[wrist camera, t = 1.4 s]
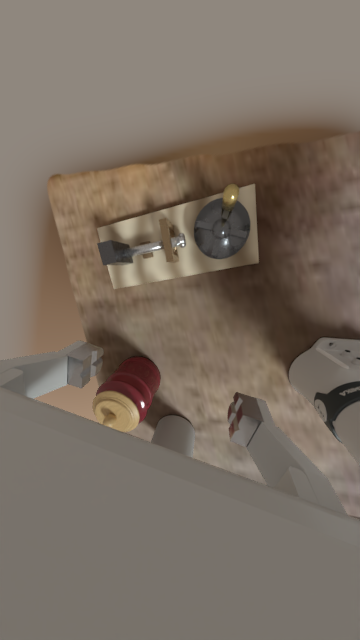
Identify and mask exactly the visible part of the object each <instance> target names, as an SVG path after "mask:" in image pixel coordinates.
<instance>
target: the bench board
mask: <svg viewBox="0 0 360 640" xmlns="http://www.w3.org/2000/svg"><path fill="white" fill-rule="evenodd" d="M223 194H224V193H220V194H217V195H213V196H209V197H206V198H202V199H199V200H195V201H192V202H188V203H185V204H181V205H178V206H174V207H171V208H167V209H163V210H160V211H156V212H153V213H149V214H146V215H142V216H139V217H135V218H132V219H128V220H124V221H121V222H117V223H114V224H110V225H107V226H103V227H100V228H97V231H98V235H99V238H100V242H105V241H109V240H113V241H117V242H121V243H124V244H128V245H129V246H130V248H131V247H135V246H140V245H144V244H148V243H152V242H156V241H160V240H162V234H161V229H160V224H159V219H163V218H167V219H168V220H169V221H170V222H171V223H172V224H173V227H174V233H175V237H177V236H178V235H179V233H184V235H185V240H186V246H185V247H184V248H181V247H180V246H178V247H177V250H178V256H179V262H175V263H169V262H167V261H166V256H165V250H160V251H155V252H151V253H146V254H142V255H137V256H133V257H132V259H133V263H131V264H127V265H122V266H121V265H107V266H108V270H109V274H110V277H111V281H112V284H113V288H114V289H117V288H123V287H128V286H134V285H139V284H145V283H150V282H156V281H161V280H167V279H172V278H178V277H183V276H189V275H195V274H200V273H206V272H211V271H217V270H222V269H228V268H233V267H239V266H244V265H250V264H255V263H259V255H258V235H257V215H256V195H255V184H252V185H248V186H245V187H241V188H239V195H238V198H237V201H238V202H240V203H241V204H242V205H243V206H244V207H245V208H246V210H247V212H248V214H249V218H250V233H249V236H248V239H247V241H246V243H245V244H244V246H243V247H242V248H241V249H240V250H239V251H238V252H237V253H236V254H234V255H233V256H231V257H228V258H225V259H213V258H210V257H208V256H206V255H204V254H203V253H202V252H201V251H200V249H199V248H198V246H197V244H196V242H195V238H194V224H195V221H196V218H197V216H198V214H199V213H200V211H201V210H202V209H203V207H204V206H206V205H207V204H208V203H209V202H211V201H213V200H215V199H218V198H223Z"/></svg>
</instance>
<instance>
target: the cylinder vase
mask: <svg viewBox="0 0 360 640" xmlns="http://www.w3.org/2000/svg"><path fill="white" fill-rule="evenodd" d="M194 440H195V431H194V428H193V426H192V425H191V424H190V423H189V422H188V421H187V420H186V419H184V418H182V417H180V416H175V415H169V416H165V417H163V418H162V419H160V421H159V422H158V424H157V427H156V429H155V432H154V435H153V438H152V441H151V443H154V444H157V445H159V446H162V447H165V448H167V449H170V450H173V451H175V452H178V453H181V454H183V455H186V456H189V457H192V458H193V449H194Z"/></svg>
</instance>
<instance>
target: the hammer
mask: <svg viewBox="0 0 360 640" xmlns="http://www.w3.org/2000/svg"><path fill="white" fill-rule="evenodd" d="M171 242H172V248H173V247H178V246H180V247H181V248H184V247H185V246H186V240H185V235H184V233H179V235H178V236H177V237H173V238H171ZM97 245H98V248H99V252H100V255H101V258H102V262H103V265H121V266H122V265H127V264H131V263H133V259H132V257H133V256H137V255H142V254H146V253H151V252H155V251H160V250H164V245H163V240H160V241H156V242H152V243H148V244H144V245H140V246H135V247H131V248H130V246H129V245H128V244H124V243H121V242H117V241H113V240H109V241H105V242H101V243H97Z"/></svg>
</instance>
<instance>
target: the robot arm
mask: <svg viewBox="0 0 360 640" xmlns="http://www.w3.org/2000/svg"><path fill="white" fill-rule="evenodd" d="M329 343H331V344H330V345H329ZM103 353H104V350H103V348H101V347H98V346H95V345H92V344H89V343H86V342H83V341H77V342H75V343H73V344H72V345H69V346H68V347H66V348H64V349H62V350H60V351H58V352H49V353H43V354H37V355H31V356H25V357H19V358H13V359H7V360H1V361H0V640H360V520H359V519H356V518H353V517H351V516H348V515H347V513H346V511H345V509H344V507H343V506H342V504H341V502H340V500H339V498H338V496H337V495H336V493H335V491H334V489H333V487H332V485H331V484H330V482H329V480H328V478H327V477H326V476H325V475H324V474H323V473H322V472H321V471H320V470H319V469H318V468H317V467H316V466H315V465H314V464H313V463H312V462H311V461H310V460H309V459H308V458H307V456H306V455H305V454H304V453H303V452H302V451H301V450H300V449H299V448H298V447H297V446H296V445H295V444H294V443H293V442H292V441H291V440H290V439H289V438H288V437H287V436H286V435H285V433H284V432H283V431H282V430H281V429H280V428H279V427H276V426H275V424H274V421H273V419H272V416H271V414H270V411H269V409H268V406H267V404H266V402H265V401H264V400H262V399H258V398H254V397H251V396H248V395H244V394H241V393H238V392H236V393H235V395H234V397H233V398H234V402H232V403H231V404H230V406H229V410H228V422H229V423H230V427H229V436H230V441H232V442H234V443H237V444H239V445H242V446H245V447H247V450H248V452H249V453H250V455H251V457H252V459H253V460H254V462H255V464H256V466H257V467H258V469H259V471H260V472H261V474H262V476H263V478H264V479H265V481H266V483H267V485H268V486H267V485H264V484H262V483H259V482H256V481H254V480H251V479H248V478H245V477H243V476H240V475H237V474H235V473H232V472H229V471H227V470H224V469H221V468H218V467H216V466H213V465H210V464H208V463H205V462H202V461H200V460H197V459H194V458H192V457H189V456H186V455H183V454H181V453H178V452H175V451H173V450H170V449H167V448H165V447H162V446H159V445H157V444H154V443H151V442H148V441H146V440H143V439H140V438H138V437H135V436H132V435H130V434H127V433H124V432H121V431H119V430H116V429H113V428H111V427H108V426H105V425H103V424H100V423H97V422H94V421H91V420H89V419H86V418H84V417H81V416H78V415H76V414H73V413H70V412H67V411H65V410H62V409H59V408H57V407H54V406H51V405H49V404H46V403H43V402H40V401H38V400H35V399H33V398H36V397H38V396H40V395H43V394H46V393H48V392H50V391H53V390H55V389H58V388H60V387H63V386H65V385H67V384H69V385H73V386H76V387H79V388H82V387H84V385H86V384H87V383H88V382H89V381H90V377H92V376H95V375H96V374H97V373H98V372H99V371H100V369H101V367H102V363H103V360H102V358H101V356H102V355H103ZM289 381H290V383H291V385H292V387H293V388H294V389H295V390H296V391H297V392H299V393H300V394H301V395H303V396H304V397H305V398H306V399H307V400H308V401H309V402H310V403H311V404H312V405H313V406H314V407H315V409H316V411H317V412H318V414H319V416H320V417H321V419H322V420H323V421H324V423H325V424H326V426H327V427H328V428H329V430H330V431H331V432H332V433H333V435H334V436H335V437H336V438H337V440H339V441H340V442H341V443H343V444H344V446H345V447H346V448H347V450H348V451H349V452H350V454H351V455H352V456H353V458H354V459H355V460H356V462H357V463H358V465H359V466H360V340H353V339H340V338H327V337H323V338H320V339H319V340H318V341H317V342H316V343H315V344H314V345H313V346H312V348H310V349H309V350H307V351H306V352H304V353H302V354H301V355H300V356H298V357H297V358H296V359H295V360H294V362H293V363H292V365H291V367H290V370H289Z"/></svg>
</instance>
